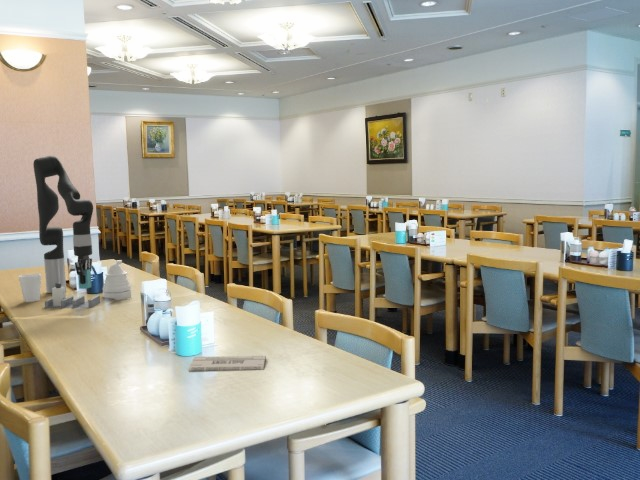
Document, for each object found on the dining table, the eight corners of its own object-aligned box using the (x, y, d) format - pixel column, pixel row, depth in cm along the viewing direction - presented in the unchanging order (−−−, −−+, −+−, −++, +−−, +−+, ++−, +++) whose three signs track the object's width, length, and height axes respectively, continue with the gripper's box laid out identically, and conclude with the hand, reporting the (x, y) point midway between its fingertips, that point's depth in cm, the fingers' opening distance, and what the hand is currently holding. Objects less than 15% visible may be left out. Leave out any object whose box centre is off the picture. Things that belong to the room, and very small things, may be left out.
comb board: (54, 304, 264) (53, 296, 263) (102, 303, 264) (102, 295, 264) (42, 310, 252) (41, 301, 251) (92, 309, 252) (92, 300, 252)
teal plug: (82, 286, 259) (81, 264, 258) (91, 286, 259) (90, 264, 258) (79, 288, 255) (77, 266, 254) (88, 288, 255) (86, 266, 254)
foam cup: (36, 304, 265) (34, 276, 263) (16, 304, 265) (14, 277, 264) (46, 300, 274) (44, 273, 273) (27, 300, 274) (25, 273, 273)
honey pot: (135, 294, 284) (133, 258, 282) (124, 300, 271) (122, 262, 269) (110, 294, 285) (108, 258, 283) (98, 300, 272) (95, 262, 270)
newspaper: (266, 358, 181) (266, 351, 180) (263, 375, 169) (263, 367, 168) (193, 360, 180) (193, 352, 180) (185, 377, 168) (185, 369, 168)
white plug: (57, 304, 260) (55, 282, 259) (66, 304, 260) (64, 282, 259) (53, 306, 256) (51, 284, 255) (62, 306, 256) (60, 283, 255)
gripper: (80, 243, 262) (82, 280, 264) (67, 246, 248) (69, 285, 250) (97, 242, 262) (99, 279, 264) (84, 246, 248) (87, 285, 250)
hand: (85, 282), depth 257 cm, fingers closed on teal plug, 4 cm apart
